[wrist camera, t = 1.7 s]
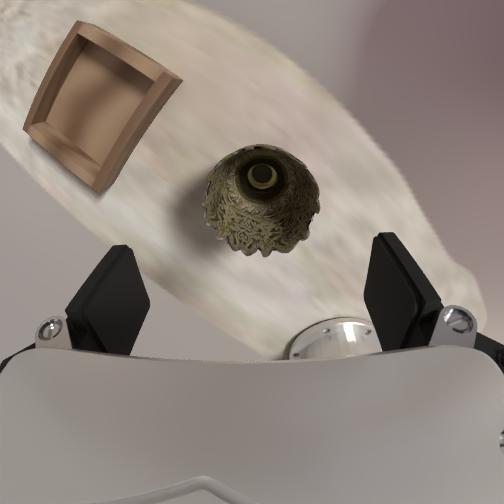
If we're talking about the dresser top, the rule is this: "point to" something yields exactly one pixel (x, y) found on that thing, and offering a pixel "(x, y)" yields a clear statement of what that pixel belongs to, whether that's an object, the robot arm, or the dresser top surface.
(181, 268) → the dresser top surface
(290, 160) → the olive round vessel
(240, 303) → the dresser top surface
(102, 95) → the box
